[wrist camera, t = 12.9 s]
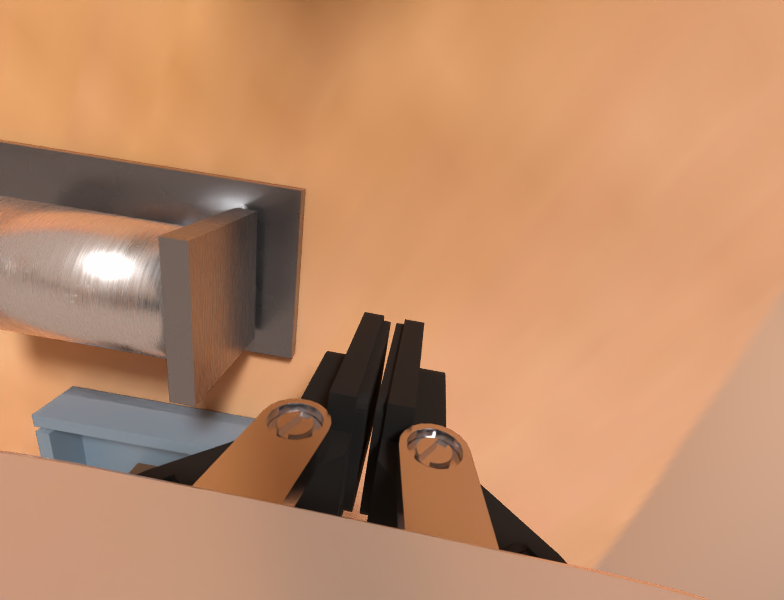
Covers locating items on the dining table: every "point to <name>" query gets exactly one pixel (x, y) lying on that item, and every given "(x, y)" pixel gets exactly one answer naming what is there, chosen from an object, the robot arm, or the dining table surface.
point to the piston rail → (177, 215)
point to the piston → (133, 285)
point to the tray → (128, 430)
